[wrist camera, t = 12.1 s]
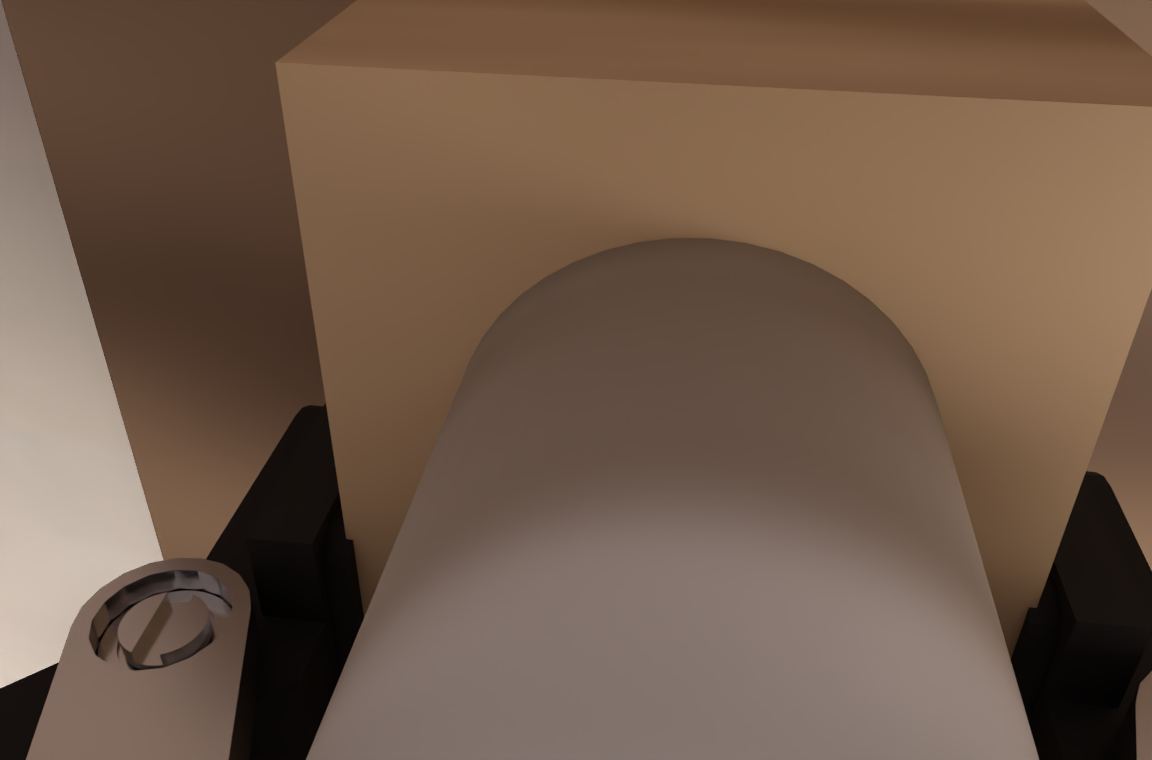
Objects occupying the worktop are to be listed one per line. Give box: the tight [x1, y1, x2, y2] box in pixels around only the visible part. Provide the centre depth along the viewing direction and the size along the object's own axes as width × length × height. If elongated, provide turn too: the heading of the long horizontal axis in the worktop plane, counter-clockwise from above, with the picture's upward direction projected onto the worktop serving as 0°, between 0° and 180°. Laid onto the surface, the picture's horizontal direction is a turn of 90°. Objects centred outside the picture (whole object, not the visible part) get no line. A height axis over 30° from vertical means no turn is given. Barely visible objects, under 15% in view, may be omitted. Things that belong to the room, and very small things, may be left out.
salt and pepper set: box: [275, 0, 1152, 760], centre depth 8 cm, size 10×5×10 cm, turn 0°
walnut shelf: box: [1, 0, 1152, 571], centre depth 12 cm, size 23×16×8 cm
